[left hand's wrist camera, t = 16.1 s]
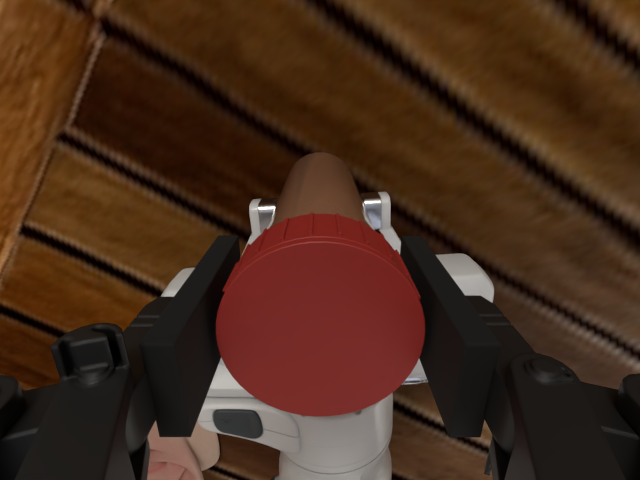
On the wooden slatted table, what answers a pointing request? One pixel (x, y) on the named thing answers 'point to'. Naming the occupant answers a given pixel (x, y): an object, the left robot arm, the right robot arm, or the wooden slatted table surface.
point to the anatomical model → (182, 454)
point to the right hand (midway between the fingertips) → (318, 197)
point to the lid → (320, 317)
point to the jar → (320, 190)
